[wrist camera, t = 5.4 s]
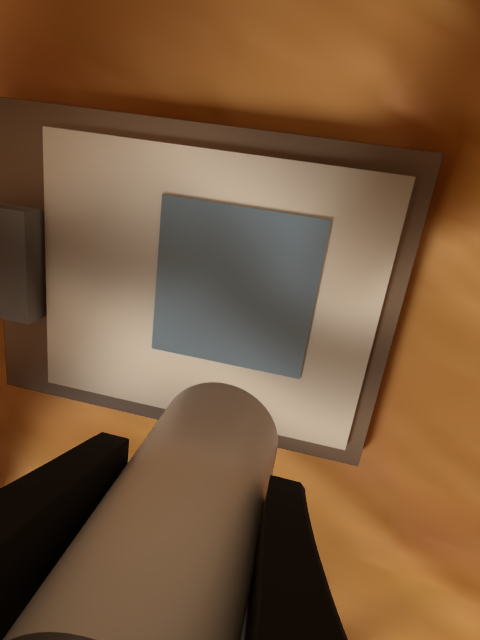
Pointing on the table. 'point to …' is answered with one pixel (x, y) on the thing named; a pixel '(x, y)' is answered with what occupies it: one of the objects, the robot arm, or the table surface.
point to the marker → (168, 531)
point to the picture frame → (205, 264)
